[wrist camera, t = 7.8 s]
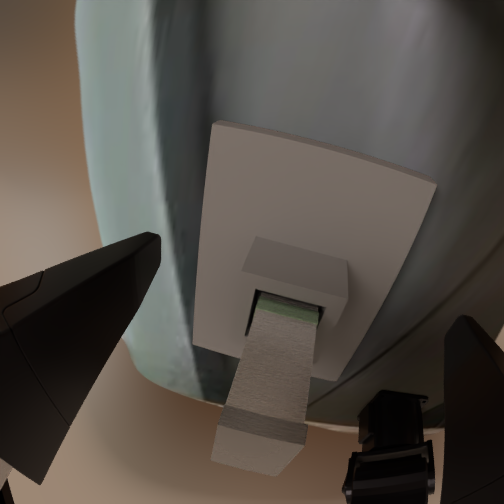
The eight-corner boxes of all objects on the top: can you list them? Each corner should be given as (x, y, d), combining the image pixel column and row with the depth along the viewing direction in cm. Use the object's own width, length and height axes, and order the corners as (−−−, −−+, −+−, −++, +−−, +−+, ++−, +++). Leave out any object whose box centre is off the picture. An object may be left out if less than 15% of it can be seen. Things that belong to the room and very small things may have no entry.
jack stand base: (430, 176, 18) (459, 213, 13) (336, 369, 29) (333, 417, 25) (220, 119, 19) (185, 138, 15) (197, 333, 30) (177, 376, 26)
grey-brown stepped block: (322, 297, 18) (306, 445, 11) (300, 350, 21) (277, 476, 14) (263, 282, 19) (216, 424, 11) (249, 337, 22) (209, 460, 14)
